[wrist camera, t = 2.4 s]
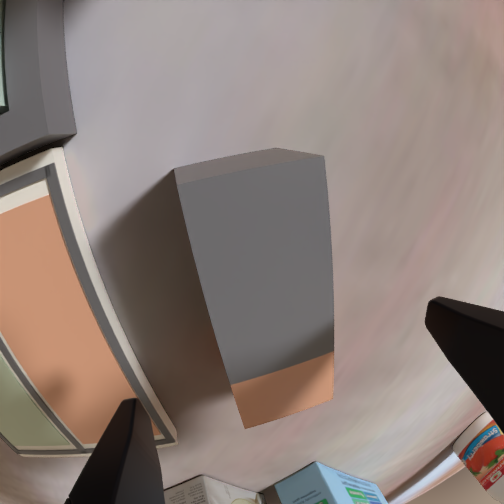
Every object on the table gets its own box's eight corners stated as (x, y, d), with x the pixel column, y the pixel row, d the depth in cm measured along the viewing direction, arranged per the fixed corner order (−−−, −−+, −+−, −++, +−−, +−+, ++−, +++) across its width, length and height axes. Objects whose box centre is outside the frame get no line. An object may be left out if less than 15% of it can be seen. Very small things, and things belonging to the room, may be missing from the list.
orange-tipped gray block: (275, 147, 12) (324, 156, 8) (299, 346, 16) (332, 398, 12) (173, 168, 11) (176, 184, 7) (225, 368, 15) (245, 429, 11)
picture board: (62, 146, 9) (50, 148, 8) (176, 429, 16) (178, 446, 15) (-102, 233, 7) (-115, 242, 6) (24, 444, 14) (21, 458, 13)
